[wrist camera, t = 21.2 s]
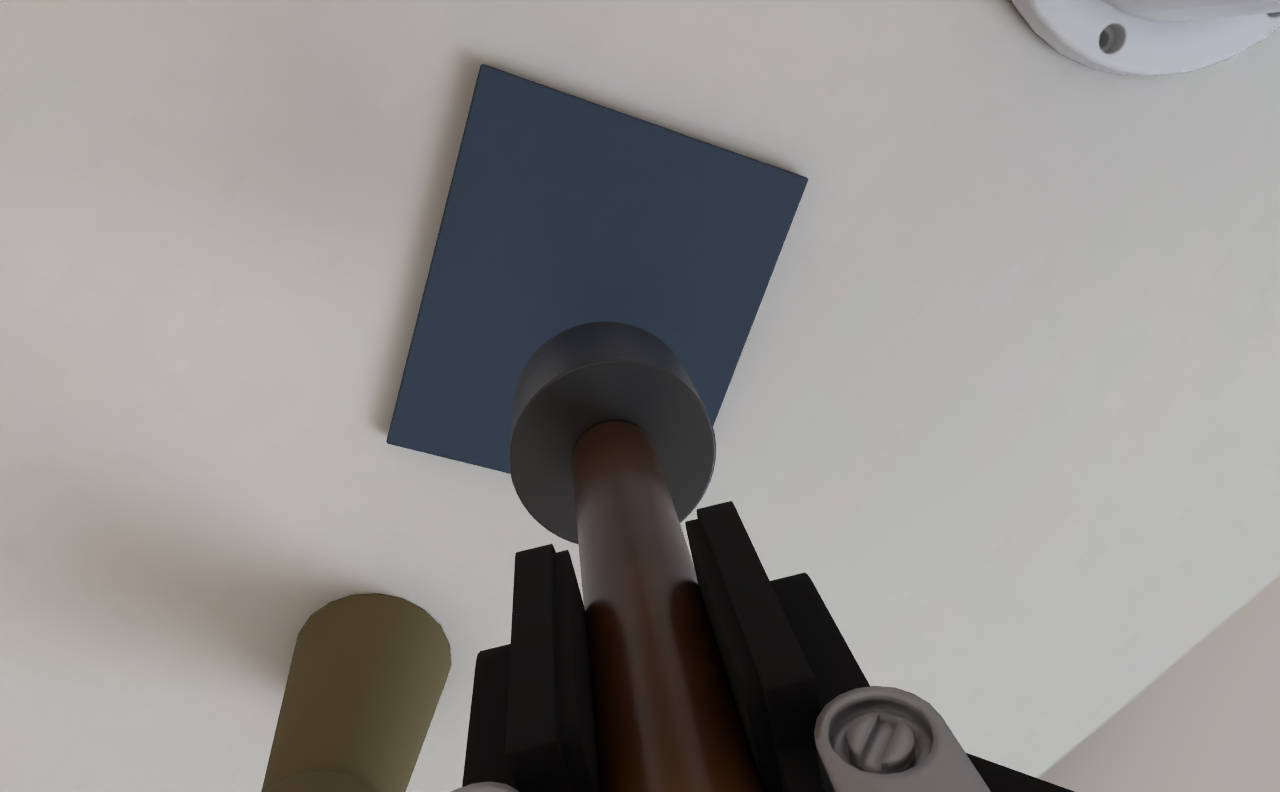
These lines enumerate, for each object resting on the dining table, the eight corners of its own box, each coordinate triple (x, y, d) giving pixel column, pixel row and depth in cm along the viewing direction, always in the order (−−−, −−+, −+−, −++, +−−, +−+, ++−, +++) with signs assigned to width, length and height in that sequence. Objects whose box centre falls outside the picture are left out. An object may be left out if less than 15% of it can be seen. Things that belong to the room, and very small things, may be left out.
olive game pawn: (260, 664, 32) (125, 938, 21) (363, 565, 31) (272, 804, 20) (383, 743, 34) (313, 1028, 23) (483, 652, 33) (455, 910, 22)
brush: (492, 344, 19) (390, 887, 6) (674, 302, 19) (956, 745, 6) (538, 505, 21) (535, 1207, 8) (705, 465, 21) (981, 1089, 8)
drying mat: (482, 63, 25) (480, 63, 24) (803, 176, 27) (809, 178, 27) (388, 436, 29) (385, 443, 28) (676, 507, 31) (679, 515, 31)
